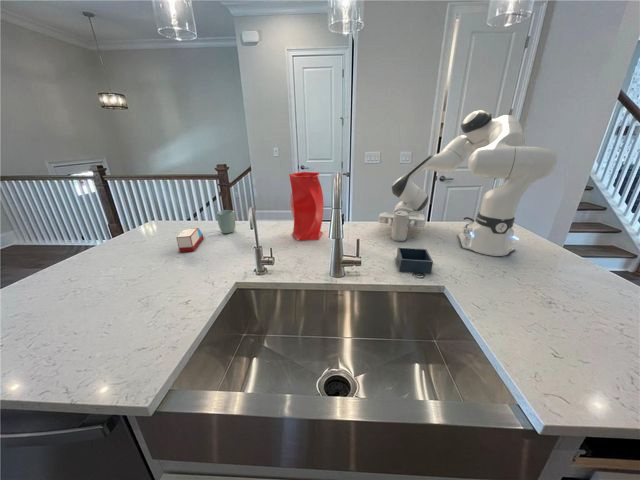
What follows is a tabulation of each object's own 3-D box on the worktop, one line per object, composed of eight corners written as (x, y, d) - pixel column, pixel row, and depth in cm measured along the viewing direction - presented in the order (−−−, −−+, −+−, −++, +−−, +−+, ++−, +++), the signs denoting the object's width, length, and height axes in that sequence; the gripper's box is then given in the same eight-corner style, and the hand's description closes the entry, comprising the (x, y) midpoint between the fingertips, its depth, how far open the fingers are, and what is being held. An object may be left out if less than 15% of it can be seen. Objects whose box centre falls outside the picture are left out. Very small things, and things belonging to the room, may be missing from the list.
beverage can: (396, 235, 119) (398, 210, 115) (408, 239, 115) (412, 213, 110) (388, 239, 115) (390, 213, 111) (401, 243, 111) (404, 216, 106)
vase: (313, 228, 130) (312, 171, 119) (330, 236, 119) (330, 174, 108) (286, 234, 122) (282, 174, 112) (301, 244, 111) (298, 178, 100)
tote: (396, 258, 98) (397, 247, 96) (424, 260, 96) (426, 249, 94) (399, 271, 88) (401, 259, 86) (431, 273, 87) (433, 261, 85)
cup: (216, 234, 124) (213, 214, 120) (225, 228, 131) (221, 209, 127) (232, 235, 123) (228, 214, 119) (239, 229, 130) (236, 210, 126)
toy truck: (203, 237, 120) (200, 224, 117) (193, 251, 106) (190, 236, 103) (191, 238, 119) (188, 225, 117) (179, 252, 105) (175, 237, 103)
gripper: (380, 207, 126) (376, 215, 114) (425, 211, 119) (426, 220, 107) (379, 220, 128) (375, 229, 116) (423, 224, 122) (424, 234, 110)
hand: (400, 224), depth 112 cm, fingers closed on beverage can, 6 cm apart
